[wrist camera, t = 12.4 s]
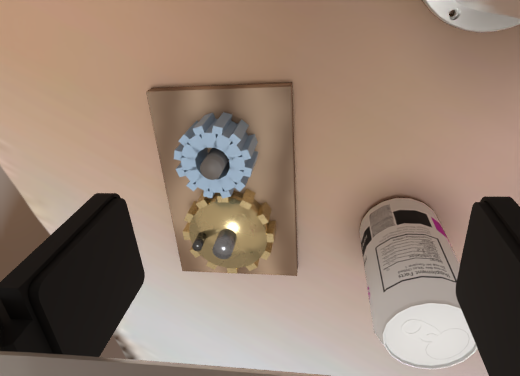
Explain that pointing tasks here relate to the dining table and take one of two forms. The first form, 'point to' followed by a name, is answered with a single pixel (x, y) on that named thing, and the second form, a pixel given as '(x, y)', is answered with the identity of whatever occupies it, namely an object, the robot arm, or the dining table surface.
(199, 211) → the brass drive gear
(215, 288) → the dining table surface
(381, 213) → the supplement can
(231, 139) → the blue gear
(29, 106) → the dining table surface
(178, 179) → the gear board
